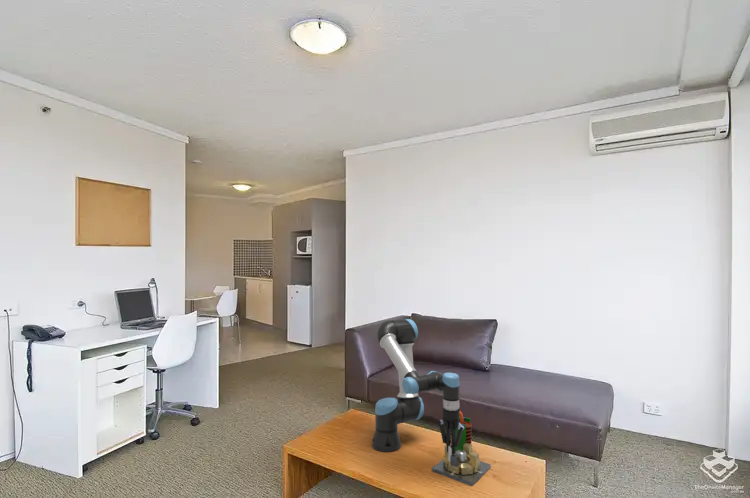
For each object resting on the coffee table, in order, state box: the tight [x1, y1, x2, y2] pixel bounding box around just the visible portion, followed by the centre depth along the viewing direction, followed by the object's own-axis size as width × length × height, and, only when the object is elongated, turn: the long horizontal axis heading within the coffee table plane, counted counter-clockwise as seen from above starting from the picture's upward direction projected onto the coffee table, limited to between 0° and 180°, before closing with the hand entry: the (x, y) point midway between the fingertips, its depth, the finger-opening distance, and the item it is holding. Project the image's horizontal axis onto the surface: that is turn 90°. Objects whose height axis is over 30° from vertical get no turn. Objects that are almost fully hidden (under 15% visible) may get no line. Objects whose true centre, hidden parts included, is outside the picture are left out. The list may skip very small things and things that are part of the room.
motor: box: [456, 410, 473, 451], centre depth 209 cm, size 10×9×20 cm
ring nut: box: [442, 443, 481, 475], centre depth 192 cm, size 16×16×7 cm
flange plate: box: [431, 450, 492, 487], centre depth 192 cm, size 20×20×8 cm
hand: (451, 460), depth 188 cm, fingers closed
